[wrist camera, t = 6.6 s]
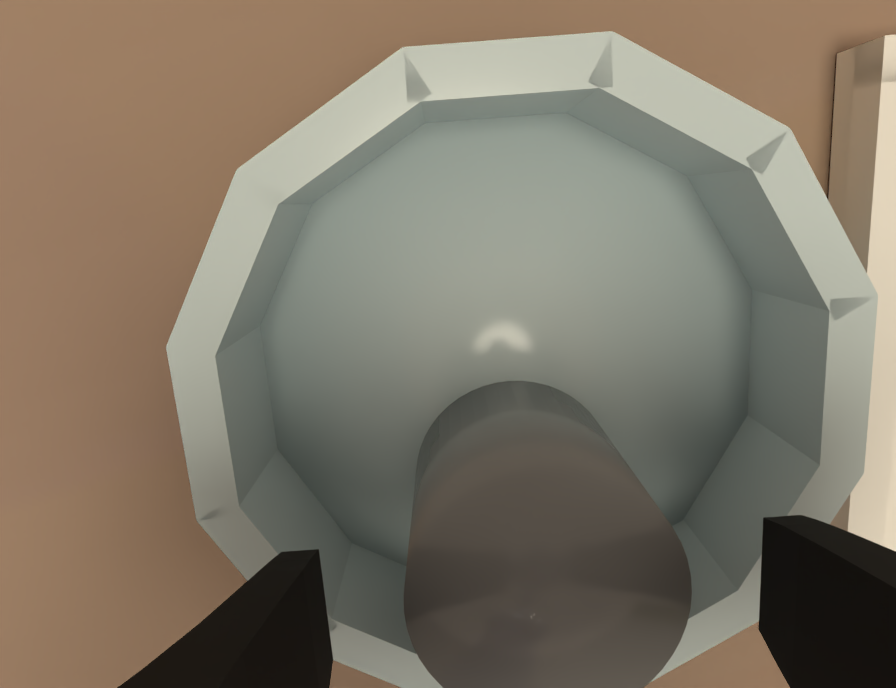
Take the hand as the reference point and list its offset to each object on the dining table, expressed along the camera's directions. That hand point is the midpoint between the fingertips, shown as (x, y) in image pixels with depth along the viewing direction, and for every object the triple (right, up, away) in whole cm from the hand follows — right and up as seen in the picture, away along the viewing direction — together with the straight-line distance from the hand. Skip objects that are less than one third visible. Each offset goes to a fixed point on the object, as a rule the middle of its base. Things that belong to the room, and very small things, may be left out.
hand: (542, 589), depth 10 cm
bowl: (0, +3, +4) cm, 5 cm away
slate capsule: (0, +1, +4) cm, 4 cm away
